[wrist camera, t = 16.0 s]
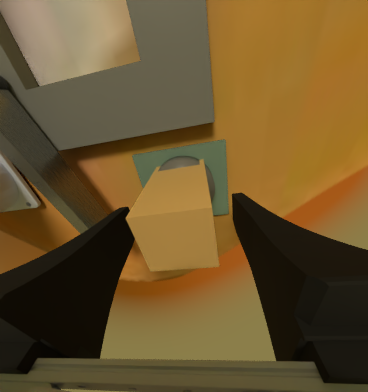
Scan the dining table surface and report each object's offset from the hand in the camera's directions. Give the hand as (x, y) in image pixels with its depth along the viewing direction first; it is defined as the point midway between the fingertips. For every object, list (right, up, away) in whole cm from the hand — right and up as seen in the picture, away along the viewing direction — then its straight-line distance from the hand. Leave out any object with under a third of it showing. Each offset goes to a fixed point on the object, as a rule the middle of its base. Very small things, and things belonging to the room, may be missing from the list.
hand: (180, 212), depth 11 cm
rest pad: (0, +2, +4) cm, 4 cm away
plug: (0, +2, +3) cm, 4 cm away
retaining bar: (-9, +3, +2) cm, 10 cm away
